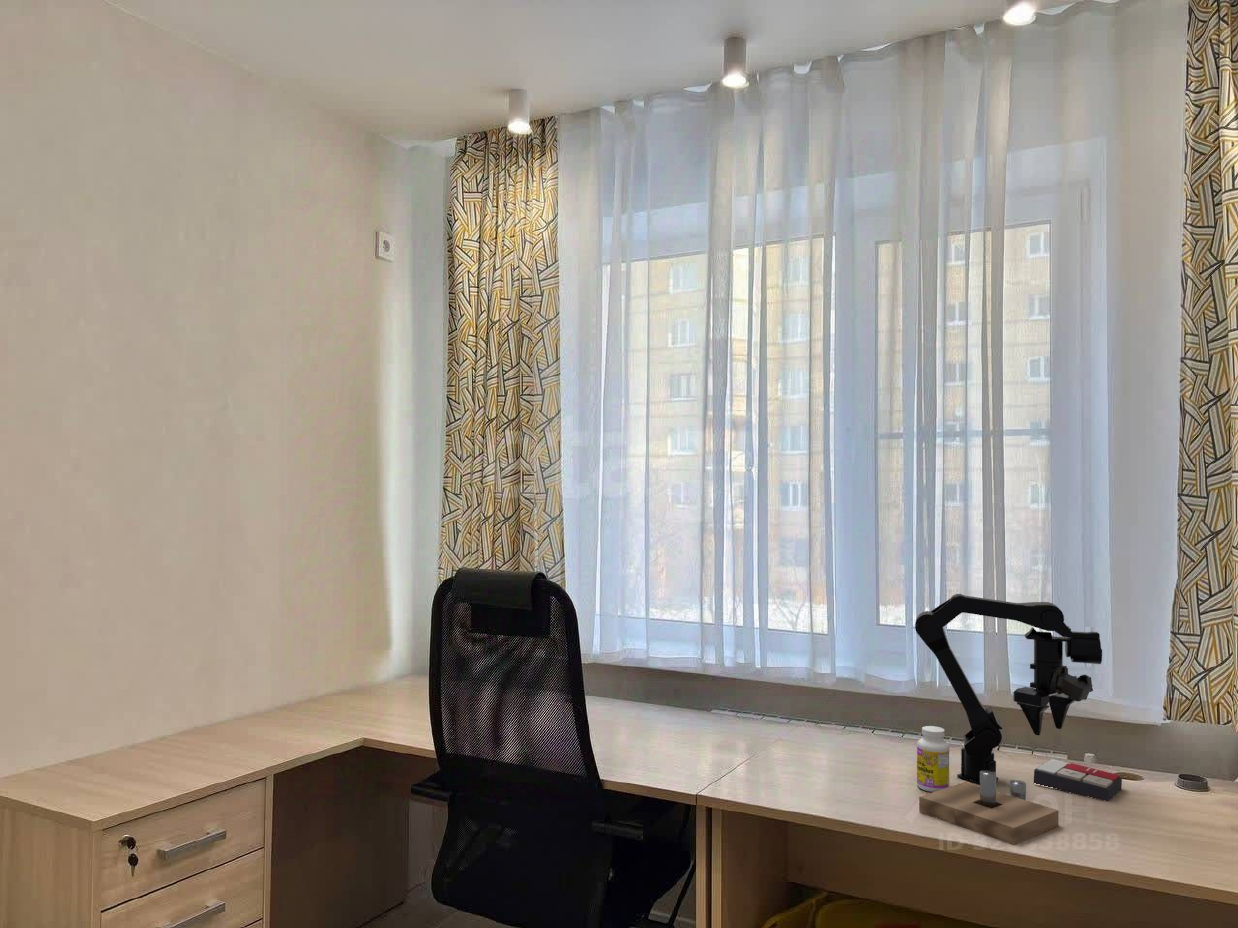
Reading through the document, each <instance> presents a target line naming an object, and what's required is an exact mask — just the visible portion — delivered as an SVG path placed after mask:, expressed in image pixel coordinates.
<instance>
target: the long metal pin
mask: <svg viewBox="0 0 1238 928" xmlns="http://www.w3.org/2000/svg"><path fill="white" fill-rule="evenodd" d="M996 777H997V772H996V773H995V772H993V771H987V770H982V771H980V784H979V787H980V805H982V806H985V807H988V808H991V809H992V808H995V807H996V792H997V780H996Z"/></svg>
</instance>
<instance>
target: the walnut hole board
mask: <svg viewBox="0 0 1238 928" xmlns="http://www.w3.org/2000/svg"><path fill="white" fill-rule="evenodd" d="M918 799H919V801H918V803H919V804H918V807H919V808H918V812H919V813H921V814H924V815H927V816H930V815H931V816H930V817H933V816H934V817H933V818H936V817H937V818H936V819H939V820H942V821H944V822H948V823H951V824H954V825H956V826H959V827H962V828H965V829H968V830H971V831H975V832H977V833H979V834H983V835H985V836H988V837H991V838H994V839H997V840H1001V841H1002V842H1007V843H1008V844H1012V845H1016V844H1019V843H1021V842H1023V841H1025V840H1029V839H1031V838H1032V837H1036V836H1037V835H1040V834H1043V833H1045V832H1047V831H1050V830H1051V829H1054V828H1056V827H1059V819H1060V818H1059V816H1060V815H1059V814H1060V813H1059V809H1056V808H1052V807H1049V806H1047V805H1046V806H1045V805H1042V804H1039V803H1036V802H1032V801H1029V800H1027V799H1026V800H1023V799H1020V798H1016V797H1013V796H1010V794H1006V793H1002V792H999V791H996V807H995V808H992V809H991V808H988V807H985V806H982V805H980V785H979V786H978V785H975V784H973V783H970V782H966V781H964V782H961V783H957V784H955V785H952V786H949V787H948V788H945V789H942V790H939V791H936V792H929V793H926V794H923V795H921V796H920V795H919V797H918Z"/></svg>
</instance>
